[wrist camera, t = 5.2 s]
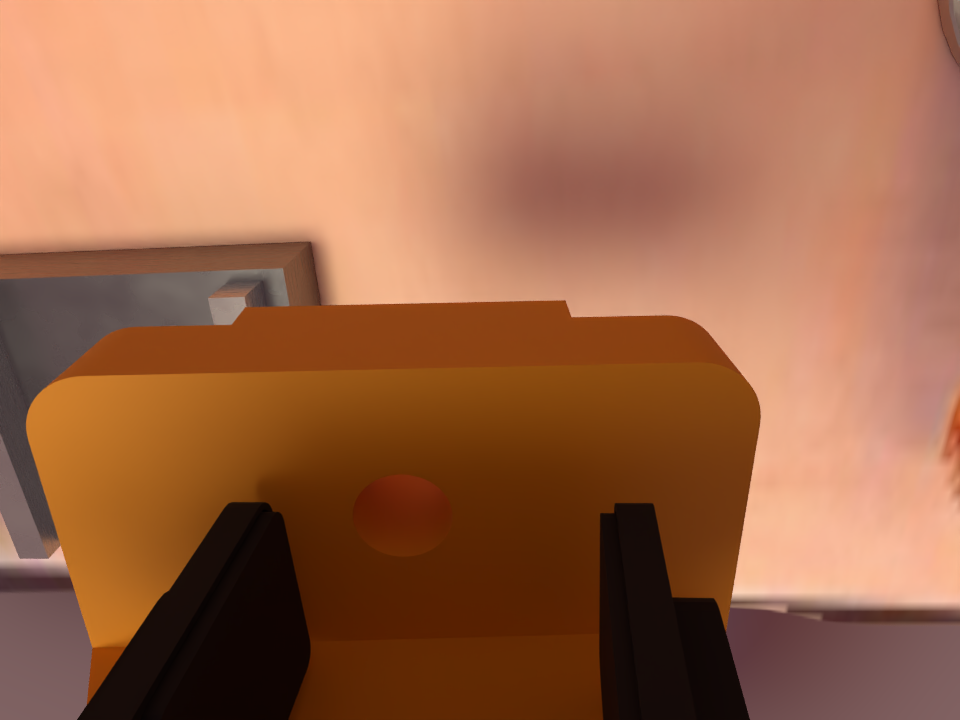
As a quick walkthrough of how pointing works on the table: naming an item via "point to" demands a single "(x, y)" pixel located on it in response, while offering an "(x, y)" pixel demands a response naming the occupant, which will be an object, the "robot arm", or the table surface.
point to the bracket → (404, 485)
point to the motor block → (104, 309)
